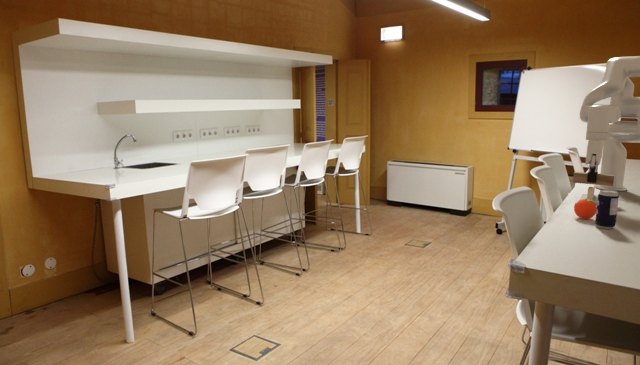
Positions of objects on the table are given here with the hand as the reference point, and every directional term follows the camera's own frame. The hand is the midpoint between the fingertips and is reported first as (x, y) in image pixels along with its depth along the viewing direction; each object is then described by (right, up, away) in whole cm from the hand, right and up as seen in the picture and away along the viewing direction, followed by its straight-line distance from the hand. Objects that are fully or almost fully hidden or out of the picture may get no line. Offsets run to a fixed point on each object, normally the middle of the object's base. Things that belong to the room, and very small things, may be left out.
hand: (591, 181), depth 187 cm
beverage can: (-17, -15, -37) cm, 43 cm away
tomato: (-17, -14, -26) cm, 34 cm away
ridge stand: (+1, -8, +3) cm, 9 cm away
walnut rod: (0, -1, 0) cm, 1 cm away
